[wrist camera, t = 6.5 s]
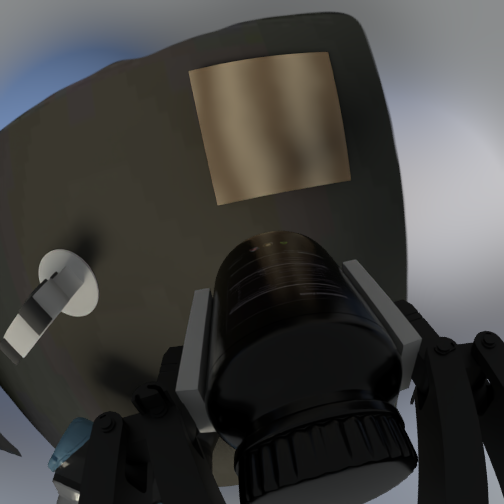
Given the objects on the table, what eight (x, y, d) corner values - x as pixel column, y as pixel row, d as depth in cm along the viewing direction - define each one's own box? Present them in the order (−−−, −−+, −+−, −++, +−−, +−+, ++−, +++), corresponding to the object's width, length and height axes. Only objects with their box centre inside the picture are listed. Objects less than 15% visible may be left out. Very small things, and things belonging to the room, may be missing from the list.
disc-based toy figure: (63, 230, 34) (-1, 278, 20) (115, 288, 38) (72, 357, 24) (30, 277, 36) (-23, 327, 22) (76, 326, 40) (37, 389, 26)
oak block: (219, 198, 34) (217, 205, 30) (193, 78, 29) (188, 71, 25) (338, 175, 34) (350, 180, 30) (317, 60, 28) (327, 52, 25)
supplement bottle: (339, 316, 17) (420, 488, 6) (233, 342, 18) (240, 533, 6) (326, 211, 15) (489, 386, 4) (198, 243, 15) (141, 476, 4)
